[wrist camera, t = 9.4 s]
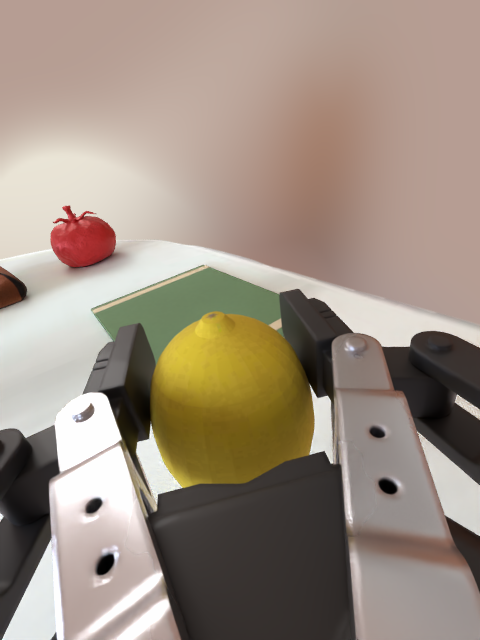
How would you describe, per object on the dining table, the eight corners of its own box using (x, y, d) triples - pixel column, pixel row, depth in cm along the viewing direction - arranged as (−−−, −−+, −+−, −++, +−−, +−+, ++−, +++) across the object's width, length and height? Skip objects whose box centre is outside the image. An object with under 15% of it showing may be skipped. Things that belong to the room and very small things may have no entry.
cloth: (164, 410, 19) (162, 405, 19) (92, 311, 34) (90, 308, 33) (320, 314, 26) (320, 309, 26) (203, 267, 40) (203, 264, 40)
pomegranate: (132, 251, 53) (113, 196, 48) (82, 274, 46) (54, 212, 41) (100, 249, 58) (80, 199, 53) (51, 269, 51) (22, 213, 47)
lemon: (275, 408, 16) (258, 264, 12) (345, 509, 11) (358, 328, 7) (172, 452, 14) (111, 306, 10) (204, 589, 10) (116, 421, 6)
